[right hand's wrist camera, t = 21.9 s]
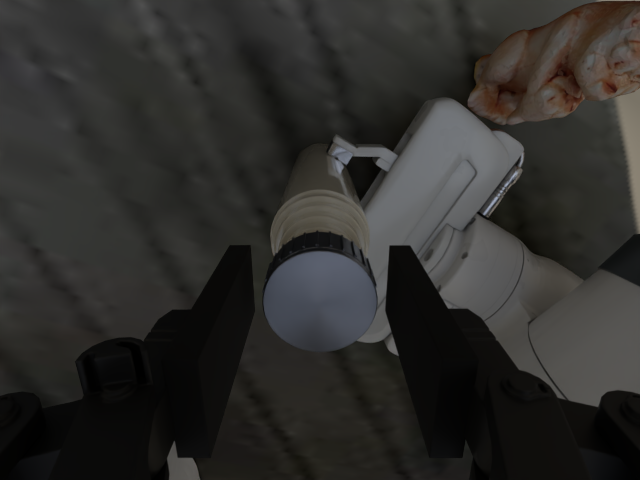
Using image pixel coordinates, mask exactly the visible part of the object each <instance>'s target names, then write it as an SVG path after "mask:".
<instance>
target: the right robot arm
mask: <svg viewBox="0 0 640 480" xmlns="http://www.w3.org/2000/svg"><path fill="white" fill-rule="evenodd" d="M254 312H255V304H254V289H253V274H252V259H251V245H230V246H229V247H228V249H227V251H226V252H225V254H224V256H223V257H222V259H221V261H220V262H219V264H218V266H217V267H216V269H215V271H214V272H213V274H212V276H211V277H210V279H209V281H208V282H207V284H206V286H205V287H204V289H203V291H202V292H201V294H200V296H199V297H198V299H197V301H196V302H195V304H194V306H193V307H192V309H191V310H171V311H170V312H169V313H167V314H166V315H164V316H163V317H161V318H160V319H159V320H158V321H157V322H156V324H155V325H154V327H153V328H152V329H151V332H149V333H148V335H147V336H146V338H145V339H144V342H143V341H142V340H140V339H136V338H132V337H125V338H115V339H111V340H107V341H104V342H101V343H99V344H97V345H94V346H92V347H91V348H89V349H88V350H86V351H85V352H83V353H82V354H81V355H80V356H79V357H78V359H77V360H76V361H75V363H76V367H77V370H78V374H79V378H80V382H81V386H82V389H83V393H84V396H83V398H82V399H81V400H78V401H74V402H70V403H65V404H61V405H56V406H52V407H47V408H43V409H42V406H41V403H40V400H39V398H38V397H37V396H36V395H35V394H33V393H28V392H17V393H9V394H6V395H2V396H0V480H169V475H170V474H169V466H168V461H167V457H168V455H169V452H170V450H171V448H172V445H173V443H174V440H175V445H176V451H177V457H178V458H211V454H212V451H213V448H214V445H215V441H216V438H217V435H218V431H219V428H220V425H221V421H222V418H223V415H224V411H225V408H226V405H227V402H228V398H229V395H230V392H231V388H232V385H233V382H234V378H235V375H236V372H237V368H238V365H239V362H240V359H241V355H242V352H243V349H244V345H245V342H246V339H247V335H248V332H249V329H250V325H251V322H252V319H253V315H254ZM385 312H386V316H387V319H388V322H389V325H390V329H391V332H392V335H393V339H394V342H395V345H396V349H397V352H398V355H399V359H400V362H401V365H402V368H403V372H404V375H405V378H406V382H407V385H408V388H409V392H410V395H411V398H412V402H413V405H414V408H415V411H416V415H417V418H418V421H419V425H420V428H421V431H422V435H423V438H424V441H425V445H426V448H427V451H428V454H429V458H462V457H463V451H464V445H465V439H466V441H467V443H468V446H469V448H470V450H471V453H472V455H473V461H472V466H471V472H470V477H469V480H640V394H638V393H634V392H629V391H622V390H615V391H608V392H606V393H605V394H604V395H603V396H601V400H600V403H599V406H598V407H596V406H592V405H587V404H582V403H578V402H573V401H569V400H565V399H561V398H558V397H557V395H556V394H555V392H554V391H553V389H552V388H551V387H550V385H548V384H547V383H546V382H544V381H543V380H542V379H541V378H539V377H537V376H535V375H533V374H531V373H529V372H526V371H522V370H519V369H518V368H517V366H516V365H515V363H514V362H513V361H512V359H511V358H510V357H509V355H508V354H507V352H506V351H505V350H504V348H503V347H502V346H501V344H500V343H499V341H498V340H496V337H495V336H494V335H493V333H492V332H491V331H489V328H488V326H487V325H486V324H485V322H484V321H483V319H482V318H481V317H479V316H478V315H476V314H475V313H473V312H472V311H471V310H469V309H448V307H447V306H446V304H445V302H444V301H443V299H442V297H441V296H440V294H439V292H438V291H437V289H436V287H435V286H434V284H433V282H432V281H431V279H430V277H429V276H428V274H427V272H426V271H425V269H424V267H423V266H422V264H421V262H420V261H419V259H418V257H417V256H416V254H415V252H414V251H413V249H412V247H411V246H410V245H389V259H388V274H387V289H386V304H385Z"/></svg>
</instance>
